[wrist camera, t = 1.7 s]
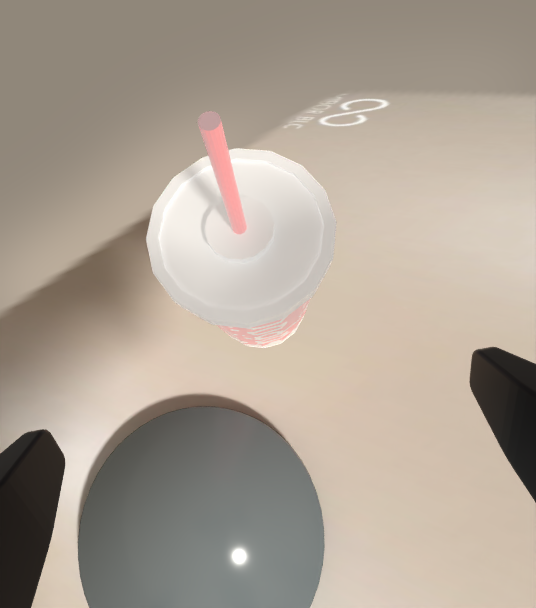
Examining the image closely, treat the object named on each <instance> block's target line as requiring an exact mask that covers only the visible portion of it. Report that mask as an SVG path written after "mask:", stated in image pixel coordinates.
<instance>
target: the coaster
mask: <svg viewBox="0 0 536 608" xmlns="http://www.w3.org/2000/svg"><path fill="white" fill-rule="evenodd" d="M323 556H324V526H323V519H322V512H321V507H320V504H319V500H318V496H317V493H316V490H315V487H314V485H313V482H312V480H311V477H310V475H309V473H308V471H307V469H306V468H305V466H304V464H303V462H302V460H301V459H300V458H299V456H298V455H297V454H296V452H295V451H294V449H293V448H292V447H291V446H290V445H289V444H288V443H287V442H286V441H285V439H284V438H283V437H282V436H280V435H279V434H278V433H277V432H276V431H274V430H273V429H272V428H271V427H269V426H268V425H266V424H264V423H263V422H261V421H259V420H258V419H256V418H254V417H251V416H249V415H247V414H244V413H241V412H238V411H234V410H231V409H225V408H218V407H192V408H185V409H180V410H176V411H173V412H169V413H166V414H164V415H162V416H159V417H157V418H155V419H153V420H151V421H149V422H148V423H146V424H144V425H142V426H141V427H139V428H138V429H137V430H135V431H134V432H133V433H131V434H130V435H129V436H128V437H127V438H126V439H125V440H124V441H123V442H122V443H121V444H119V445H118V446H117V447H116V449H115V450H114V451H113V452H112V454H111V455H110V456H109V457H108V459H107V460H106V461H105V463H104V465H103V466H102V468H101V469H100V471H99V472H98V474H97V476H96V478H95V480H94V482H93V484H92V486H91V488H90V491H89V494H88V496H87V499H86V502H85V505H84V509H83V513H82V518H81V522H80V529H79V538H78V561H79V570H80V577H81V582H82V586H83V590H84V594H85V597H86V600H87V602H88V605H89V608H310V606H311V604H312V602H313V599H314V596H315V593H316V590H317V587H318V584H319V580H320V575H321V570H322V566H323Z"/></svg>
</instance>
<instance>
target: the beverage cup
mask: <svg viewBox="0 0 536 608" xmlns="http://www.w3.org/2000/svg"><path fill="white" fill-rule="evenodd" d="M198 125H199V128H200V131H201V134H202V138H203V141H204V143H205V147H206V150H207V153H208V156H206V157H203V158H201V159H199V160H198V161H196V162H195V163H194V164H192V165H190V166H189V167H188V168H186V169H185V170H183V171H182V172H180V173H179V174H177V175H176V176H175V177H173V178H172V180H171V181H170V183H169V184H168V185H167V187H166V188H165V190H164V191H163V193H162V194H161V196H160V197H159V198H158V200H157V201H156V203H155V204H154V206H153V210H152V214H151V219H150V223H149V228H148V232H147V237H146V242H147V247H148V252H149V257H150V261H151V266H152V271H153V274H154V275H155V276H156V278H157V279H158V280H159V282H160V283H161V284H162V286H163V287H164V288H165V290H166V291H167V293H168V294H169V295H170V297H171V298H172V299H173V301H174V302H175V303H176V304H178V305H180V306H181V307H182V308H184V309H185V310H187V311H189V312H191V313H192V314H194V315H196V316H198V317H200V318H201V319H203V320H205V321H207V322H208V323H210V324H213V325H217V326H218V327H219V328H221V329H222V330H223V331H224V332H226V333H227V334H228V335H229V336H231V337H232V338H234V339H235V340H237V341H239V342H241V343H243V344H244V345H246V346H251V347H259V348H267V347H270V346H274V345H277V344H281V343H282V342H284V341H285V340H286V339H287V338H289V337H290V336H291V335H293V334H294V333H295V332H296V330H297V328H298V326H299V324H300V323H301V321H302V319H303V317H304V314H305V312H306V309H307V306H308V303H309V301H310V298H311V297H313V295H314V294H315V292H316V290H317V288H318V287H319V285H320V283H321V281H322V279H323V278H324V276H325V274H326V272H327V271H328V269H329V267H330V264H331V262H332V260H333V254H334V244H335V233H336V219H335V216H334V213H333V211H332V208H331V205H330V202H329V199H328V196H327V194H326V191H325V189H324V188H323V187H322V186H321V185H320V184H319V183H318V182H317V181H316V180H315V179H314V177H313V176H312V175H311V174H310V173H309V172H308V171H307V170H306V169H305V168H304V167H303V166H302V165H300V164H298V163H296V162H294V161H292V160H289V159H287V158H285V157H283V156H281V155H278V154H276V153H274V152H272V151H265V150H251V149H238V148H235V149H232V150H228V147H227V143H226V139H225V135H224V130H223V127H222V122H221V118H220V116H219V115H218V114H217V113H216V112H213V111H208V112H204V113H203V114H202V115H201V116H200V117H199V118H198Z"/></svg>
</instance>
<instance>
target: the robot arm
mask: <svg viewBox="0 0 536 608" xmlns="http://www.w3.org/2000/svg"><path fill="white" fill-rule="evenodd" d="M470 387H471V390H472V392H473V394H474V396H475V398H476V400H477V402H478V404H479V406H480V408H481V410H482V412H483V414H484V416H485V418H486V420H487V422H488V423H489V425H490V427H491V429H492V431H493V433H494V435H495V437H496V439H497V441H498V443H499V445H500V447H501V449H502V450H503V452H504V454H505V456H506V457H507V459H508V461H509V462H510V464H511V466H512V467H513V469H514V470H515V472H516V473H517V475H518V476H519V478H520V479H521V481H522V482H523V484H524V485H525V487H526V488H527V490H528V491H529V493H530V494H531V496H532V498H533V499H534V501H535V502H536V364H535V363H532V362H530V361H528V360H525V359H523V358H520V357H518V356H516V355H513V354H511V353H509V352H506V351H504V350H502V349H499V348H497V347H488V348H483V349H478V350H475V351H474V352H473V354H472V361H471V371H470ZM64 469H65V458H64V455H63V453H62V451H61V449H60V448H59V446H58V444H57V443H56V441H55V440H54V438H53V436H52V435H51V433H50V432H49V431H48V430H44V429H42V430H37V431H31V432H27V433H25V434H23V435H22V436H21V437H20V438H19V439H17V440H16V441H15V442H14V443H13V444H11V445H10V446H9V447H8V448H7V449H5V450H4V451H3V452H2V453H1V454H0V608H31V606H32V603H33V599H34V596H35V593H36V589H37V586H38V582H39V579H40V576H41V572H42V569H43V565H44V562H45V559H46V555H47V552H48V548H49V544H50V541H51V537H52V532H53V528H54V523H55V517H56V512H57V507H58V501H59V496H60V491H61V485H62V480H63V475H64Z"/></svg>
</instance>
